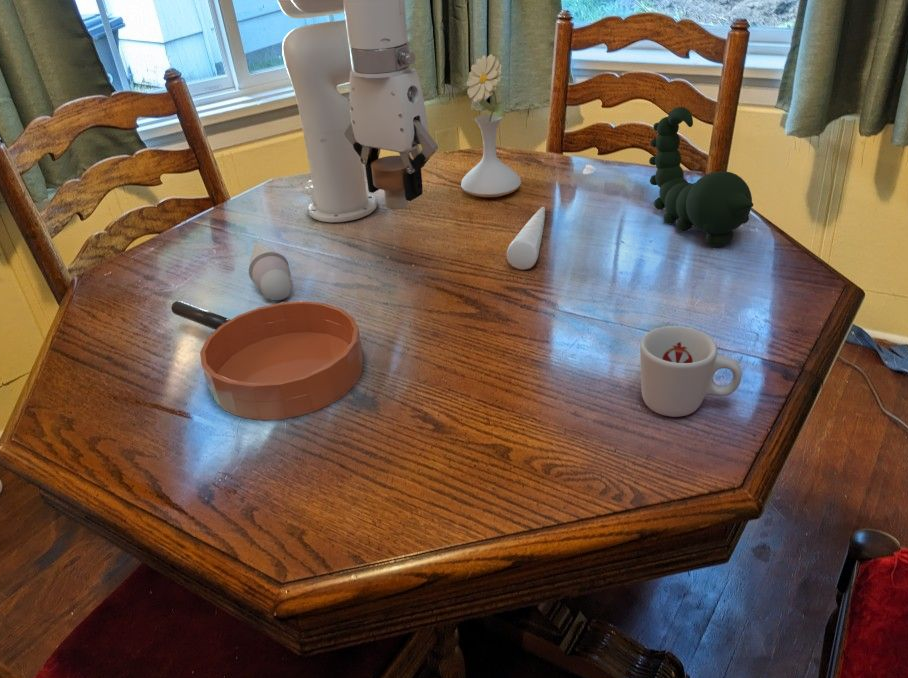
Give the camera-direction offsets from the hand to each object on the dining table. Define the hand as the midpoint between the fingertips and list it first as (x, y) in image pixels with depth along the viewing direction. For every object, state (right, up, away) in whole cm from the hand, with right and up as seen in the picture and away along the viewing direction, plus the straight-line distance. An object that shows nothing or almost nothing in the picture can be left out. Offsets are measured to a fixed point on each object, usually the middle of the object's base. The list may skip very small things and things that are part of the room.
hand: (395, 192), depth 104 cm
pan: (-13, -26, -11) cm, 31 cm away
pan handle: (-25, -19, -5) cm, 32 cm away
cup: (+34, -30, -21) cm, 50 cm away
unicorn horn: (+21, -4, +16) cm, 27 cm away
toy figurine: (+48, -2, +16) cm, 50 cm away
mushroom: (0, -2, +1) cm, 2 cm away
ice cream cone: (-20, -12, +10) cm, 25 cm away
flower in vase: (+16, +8, +35) cm, 39 cm away
